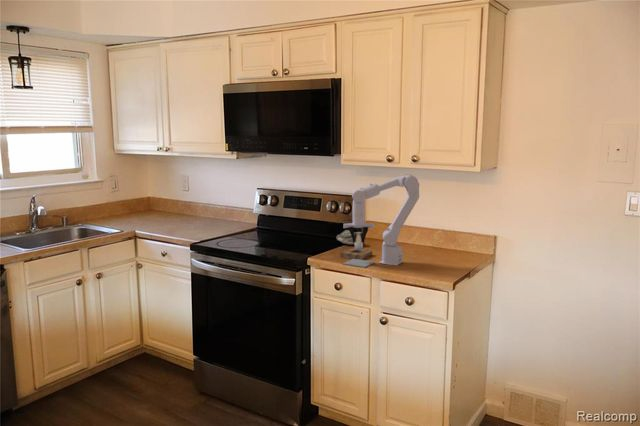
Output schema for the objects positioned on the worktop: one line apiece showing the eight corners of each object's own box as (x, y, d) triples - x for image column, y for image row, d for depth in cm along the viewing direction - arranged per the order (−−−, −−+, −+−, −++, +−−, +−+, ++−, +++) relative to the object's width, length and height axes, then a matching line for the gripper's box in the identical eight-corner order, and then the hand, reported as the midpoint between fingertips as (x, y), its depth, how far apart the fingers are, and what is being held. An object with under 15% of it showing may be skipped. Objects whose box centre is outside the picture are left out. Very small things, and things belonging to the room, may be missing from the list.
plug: (364, 248, 248) (364, 232, 247) (360, 250, 245) (360, 234, 244) (357, 247, 250) (356, 231, 249) (352, 249, 247) (352, 233, 246)
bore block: (372, 255, 263) (372, 250, 263) (361, 260, 253) (361, 255, 253) (351, 252, 269) (351, 247, 269) (340, 257, 260) (340, 252, 259)
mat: (374, 262, 248) (374, 261, 248) (365, 267, 240) (365, 266, 240) (353, 259, 254) (353, 258, 254) (342, 264, 246) (342, 263, 246)
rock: (331, 239, 289) (337, 224, 292) (338, 248, 296) (345, 233, 299) (357, 244, 278) (364, 228, 281) (365, 252, 284) (371, 237, 288)
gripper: (373, 213, 248) (373, 240, 250) (343, 213, 249) (343, 240, 251) (373, 215, 241) (373, 243, 243) (343, 216, 242) (343, 243, 244)
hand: (358, 242), depth 247 cm, fingers closed on plug, 4 cm apart
